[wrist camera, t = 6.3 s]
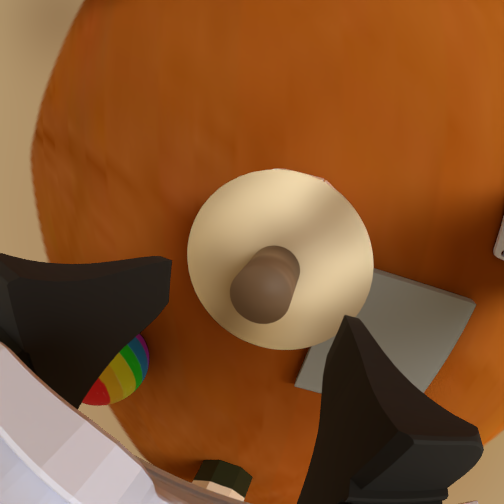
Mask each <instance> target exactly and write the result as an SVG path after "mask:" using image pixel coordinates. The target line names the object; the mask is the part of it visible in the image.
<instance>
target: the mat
mask: <svg viewBox="0 0 504 504" xmlns="http://www.w3.org/2000/svg"><path fill="white" fill-rule="evenodd" d="M475 306H476V304H475V302H474V301H473V300H472V299H470V298H467V297H464V296H461V295H458V294H454V293H451V292H448V291H445V290H442V289H439V288H436V287H433V286H430V285H426V284H423V283H420V282H417V281H414V280H411V279H407V278H404V277H401V276H398V275H394V274H391V273H388V272H385V271H382V270H378V269H375V268H373V278H372V283H371V287H370V291H369V294H368V296H367V299H366V301H365V303H364V305H363V307H362V308H361V310H360V312H359V313H358V314H357V316H356V317H355V318H359V319H360V320H361V321H362V322H363V324H364V325H365V326H366V328H367V329H368V331H369V332H370V333H371V335H372V336H373V338H374V339H375V340H376V342H377V343H378V345H379V346H380V347H381V349H382V350H383V351H384V353H385V354H386V355H387V356H388V358H389V359H390V360H391V361H392V363H393V364H394V365H395V366H396V367H397V368H398V369H399V371H400V372H401V373H402V374H403V375H404V376H405V377H406V378H407V379H408V380H409V381H410V382H411V383H412V384H413V385H414V386H416V387H417V388H418V389H419V390H420V391H421V392H423V393H424V391H425V390H426V389H427V387H428V386H429V384H430V383H431V382H432V380H433V379H434V377H435V376H436V374H437V373H438V371H439V370H440V368H441V367H442V365H443V364H444V362H445V361H446V359H447V357H448V356H449V354H450V352H451V351H452V349H453V347H454V346H455V344H456V342H457V341H458V339H459V337H460V335H461V334H462V332H463V330H464V328H465V326H466V324H467V322H468V320H469V318H470V317H471V315H472V313H473V310H474V308H475ZM335 336H336V335H335ZM335 336H334V337H332V338H330V339H328V340H326V341H325V342H322V343H319V344H317V345H314V346H311V347H310V348H309V350H308V352H307V355H306V357H305V360H304V362H303V364H302V367H301V369H300V371H299V373H298V376H297V378H296V381H295V386H296V387H299V388H303V389H306V390H310V391H314V392H318V393H322V381H323V373H324V367H325V362H326V357H327V354H328V352H329V350H330V347H331V345H332V343H333V341H334V338H335Z"/></svg>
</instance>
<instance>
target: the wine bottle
mask: <svg viewBox="0 0 504 504" xmlns="http://www.w3.org/2000/svg"><path fill="white" fill-rule="evenodd" d="M251 480H252V476H251V475H249V474H248V473H247V472H246V471H245V470H244V469H242V468H241V467H238V466H235V465H232V464H230V463H227V462H224V461H221V460H204V461H203V463H202V465H201V467H200V469H199V471H198V473H197V474H196V476H195V478H194V480H193V482H192V484H195V485H197V486H200V487H202V488H205V489H208V490H210V491H213V492H216V493H219V494H222V495H225V496H228V497H231V498H234V499H237V500H240V501H244V498H245V496H246V493H247V491H248V488H249V485H250V483H251Z"/></svg>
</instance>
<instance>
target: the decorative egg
mask: <svg viewBox="0 0 504 504" xmlns="http://www.w3.org/2000/svg"><path fill="white" fill-rule="evenodd" d="M148 366H149V351H148V347H147V345H146V342H145V340H144V339H143V337H142V336H141V335H140V333H139V334H138V335H137V336H136V337H135V338H134V339H133V340H132V341H130V342H129V343H128V344H127V345H126V346H125V347H124V348H123V349H122V350H121V351H120V352H119V353H118V354H117V355H116V356H115V358H114V359H113V360H112V361H111V362H110V364H109V365H108V366H107V367H106V368H105V370H104V371H103V372H102V374H101V375H100V376H99V378H98V379H97V380H96V382H95V383H94V384H93V386H92V387H91V389H90V390H89V392H88V393H87V395H86V396H85V398H84V399H83V401H82V403H85V404H88V405H108V404H113V403H115V402H118V401H120V400H122V399H124V398H126V397H128V396H129V395H130V394H132V393H133V392H134V391H135V390H136V389H137V388H138V387H139V386H140V384H141V383H142V382H143V380H144V378H145V376H146V373H147V370H148Z"/></svg>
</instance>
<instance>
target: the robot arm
mask: <svg viewBox="0 0 504 504" xmlns="http://www.w3.org/2000/svg"><path fill="white" fill-rule="evenodd" d="M502 251H503V254H502V255H501V253H502ZM493 253H494V255H495V256H496V257H497V258H500V259H502V260H504V217H503V220H502V224H501V227H500V231H499V234H498V237H497V240H496V243H495V246H494V250H493ZM171 266H172V260H169V259H166V258H164V257H161V256H150V257H141V258H134V259H127V260H120V261H111V262H102V263H92V264H57V263H45V262H37V261H30V260H26V259H21V258H17V257H13V256H9V255H6V254H3V253H0V504H251V503H247V502H244V501H240V500H237V499H234V498H231V497H228V496H225V495H222V494H219V493H216V492H213V491H210V490H208V489H205V488H202V487H200V486H197V485H195V484H192V483H190V482H188V481H185V480H183V479H181V478H179V477H176V476H174V475H172V474H170V473H168V472H166V471H164V470H161V469H159V468H157V467H155V466H154V465H152V464H150V463H148V462H146V461H144V460H142V459H140V458H139V457H137V456H135V455H133V454H132V453H131V452H130V451H128V450H127V449H126V448H125V447H124V446H123V445H122V444H121V443H120V442H119V441H118V440H117V439H115V438H114V437H113V436H111V435H110V434H109V433H107V432H106V431H105V430H103V429H102V428H101V427H100V426H98V425H97V424H96V423H95V422H93V421H92V420H91V419H89V418H88V417H87V416H85V415H84V414H82V413H81V412H80V411H78V408H79V406H80V404H81V403H82V401H83V399H84V398H85V396H86V395H87V393H88V392H89V390H90V389H91V387H92V386H93V384H94V383H95V382H96V380H97V379H98V378H99V376H100V375H101V374H102V372H103V371H104V370H105V368H106V367H107V366H108V365H109V364H110V362H111V361H112V360H113V359H114V358H115V356H116V355H117V354H118V353H119V352H120V351H121V350H122V349H123V348H124V347H125V346H126V345H127V344H128V343H129V342H130V341H132V340H133V339H134V338H135V337H136V336H137V335H138V334H139V333H140V332H141V331H143V330H144V329H145V328H146V327H147V326H148V325H149V324H150V323H151V322H152V321H153V320H154V319H155V318H156V317H157V316H158V315H159V314H160V313H161V311H162V310H163V309H164V307H165V306H166V305H167V304H168V302H169V289H170V277H171ZM483 450H484V449H483V445H482V441H481V438H480V434H479V431H478V428H477V427H476V426H474V425H472V424H470V423H468V422H467V421H465V420H463V419H461V418H459V417H457V416H455V415H453V414H452V413H450V412H449V411H447V410H446V409H444V408H443V407H441V406H440V405H438V404H437V403H435V402H434V401H433V400H431V399H430V398H429V397H427V396H426V395H425V394H424V393H423V392H421V391H420V390H419V389H418V388H417V387H416V386H414V385H413V384H412V383H411V382H410V381H409V380H408V379H407V378H406V377H405V376H404V375H403V374H402V373H401V372H400V371H399V369H398V368H397V367H396V366H395V365H394V364H393V363H392V361H391V360H390V359H389V358H388V356H387V355H386V354H385V353H384V351H383V350H382V349H381V347H380V346H379V345H378V343H377V342H376V340H375V339H374V338H373V336H372V335H371V333H370V332H369V331H368V329H367V328H366V326H365V325H364V324H363V322H362V321H361V320H360V319H359V318H355V317H352V316H348V315H344V317H343V320H342V322H341V325H340V327H339V329H338V332H337V334H336V336H335V338H334V341H333V343H332V345H331V347H330V350H329V352H328V354H327V357H326V362H325V367H324V373H323V381H322V396H321V410H320V422H319V429H318V434H317V439H316V443H315V447H314V451H313V455H312V459H311V462H310V466H309V469H308V473H307V476H306V479H305V482H304V485H303V488H302V491H301V494H300V496H299V499H298V502H297V504H442V500H445V499H447V497H448V489H447V488H448V487H449V486H450V485H452V484H453V483H454V482H455V481H457V480H458V479H460V478H461V477H462V476H463V475H465V474H466V473H467V472H468V471H469V470H470V469H472V468H473V467H474V466H475V464H476V463H477V462H478V461H479V459H480V458H481V456H482V453H483ZM461 504H478V501H470V502H465V503H461Z"/></svg>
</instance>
